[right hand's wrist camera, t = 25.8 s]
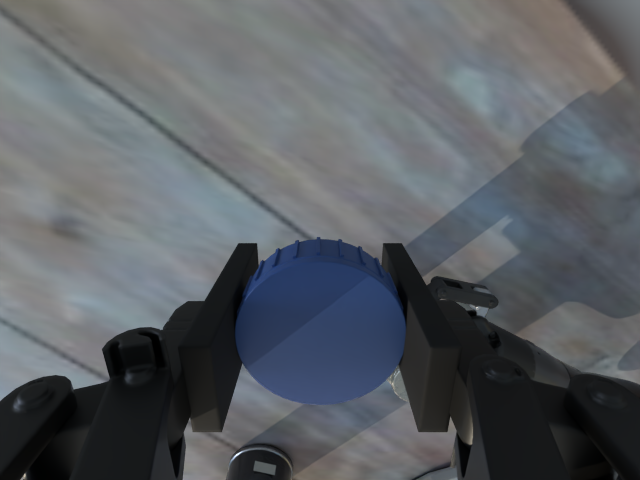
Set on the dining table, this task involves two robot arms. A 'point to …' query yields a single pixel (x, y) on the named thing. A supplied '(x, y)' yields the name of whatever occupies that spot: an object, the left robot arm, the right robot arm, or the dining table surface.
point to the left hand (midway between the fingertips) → (371, 303)
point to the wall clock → (441, 474)
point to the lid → (320, 323)
